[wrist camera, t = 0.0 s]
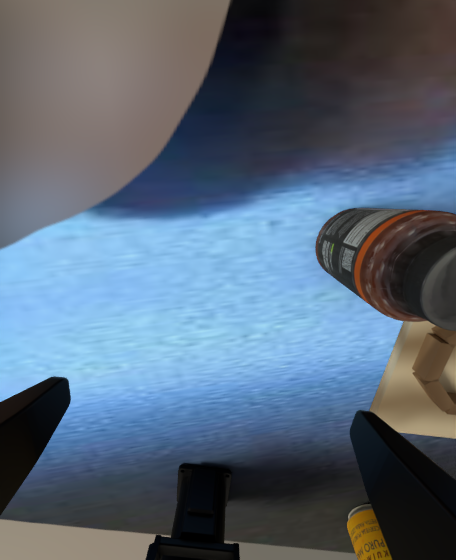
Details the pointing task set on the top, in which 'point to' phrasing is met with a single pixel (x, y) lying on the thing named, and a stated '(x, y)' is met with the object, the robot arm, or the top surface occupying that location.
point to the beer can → (367, 534)
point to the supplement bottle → (395, 261)
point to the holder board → (408, 392)
